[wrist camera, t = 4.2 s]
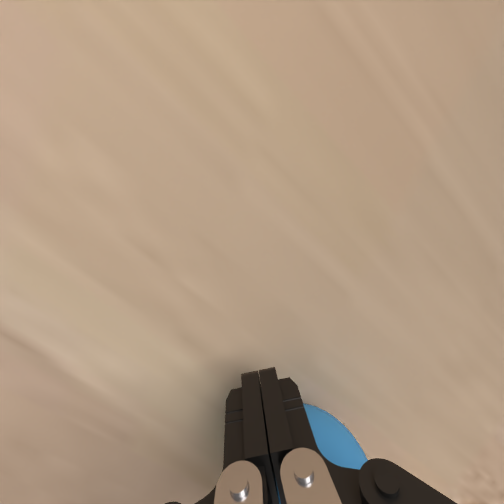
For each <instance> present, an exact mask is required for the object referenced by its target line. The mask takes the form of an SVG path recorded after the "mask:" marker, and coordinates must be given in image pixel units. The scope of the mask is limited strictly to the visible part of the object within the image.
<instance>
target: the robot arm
mask: <svg viewBox="0 0 504 504" xmlns="http://www.w3.org/2000/svg"><path fill="white" fill-rule="evenodd" d="M259 375H260V379H259ZM241 379H242V387H241V388H236V389H232V390H231V391H230V393H229V395H228V398H227V400H226V415H225V440H224V465H223V471H222V474H221V475H220V477H219V479H218V482H217V485H216V486H215V488H214V489H213V490H212V491H211V492H210V493H209V494H208V495H207V496H206V497H204V498H203V499H201V500H200V501H198V502H197V503H195V504H279V498H278V491H279V496H280V501H281V504H457V503H455V502H454V501H452V500H451V499H449V498H448V497H446V496H444V495H443V494H441V493H440V492H438V491H437V490H435V489H434V488H432V487H430V486H429V485H427V484H426V483H424V482H423V481H421V480H420V479H418V478H416V477H415V476H413V475H412V474H410V473H409V472H407V471H406V470H404V469H402V468H401V467H399V466H398V465H396V464H394V463H393V462H391V461H388V460H385V459H379V458H376V459H371V460H368V461H366V462H365V463H364V464H363V465H362V467H361V469H360V470H359V469H352V468H346V467H341V466H338V465H335V464H333V463H332V462H330V461H329V460H327V459H326V458H325V457H324V456H323V455H322V453H321V452H320V450H319V449H318V447H317V444H316V441H315V438H314V435H313V432H312V429H311V426H310V423H309V420H308V417H307V414H306V411H305V408H304V405H303V402H302V399H301V396H300V393H299V390H298V387H297V385H296V384H295V383H294V382H293V381H292V380H291V379H290V377H289V378H284V379H279V380H278V378H277V374H276V370H275V367H272V368H268V369H263V370H259V374H258V371H253V372H249V373H244V374H241ZM260 382H261V384H260ZM276 482H277V484H276ZM277 487H278V491H277ZM165 504H181V503H178V502H168V503H165Z"/></svg>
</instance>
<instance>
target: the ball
mask: <svg viewBox="0 0 504 504" xmlns="http://www.w3.org/2000/svg"><path fill="white" fill-rule="evenodd" d="M303 405H304V408H305V411H306V414H307V417H308V420H309V423H310V426H311V429H312V432H313V435H314V438H315V441H316V444H317V447H318V449H319V450H320V452H321V453H322V455H323V456H324V457H325V458H326V459H327V460H329V461H330V462H332V463H333V464H335V465H338V466H341V467H346V468H352V469H359V470H360V469H361V467H362V465H363V464H364V463H365V462H366V461H368V460H367V458H366V456H365V454H364V452H363V450H362V448H361V447H360V445H359V444H358V442H357V441H356V439H355V438H354V436H353V435H352V434H351V433H350V432H349V430H348V429H347V428H346V427H345V426H344V425H343V424H342V423H341V422H340V421H339V420H337V419H336V418H335V417H333V416H332V415H331V414H329V413H328V412H326V411H324V410H322V409H320V408H318V407H315V406H312V405H308V404H304V403H303ZM276 484H277V482H276ZM277 491H278V487H277ZM278 498H279V504H281V501H280V496H279V491H278Z"/></svg>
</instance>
